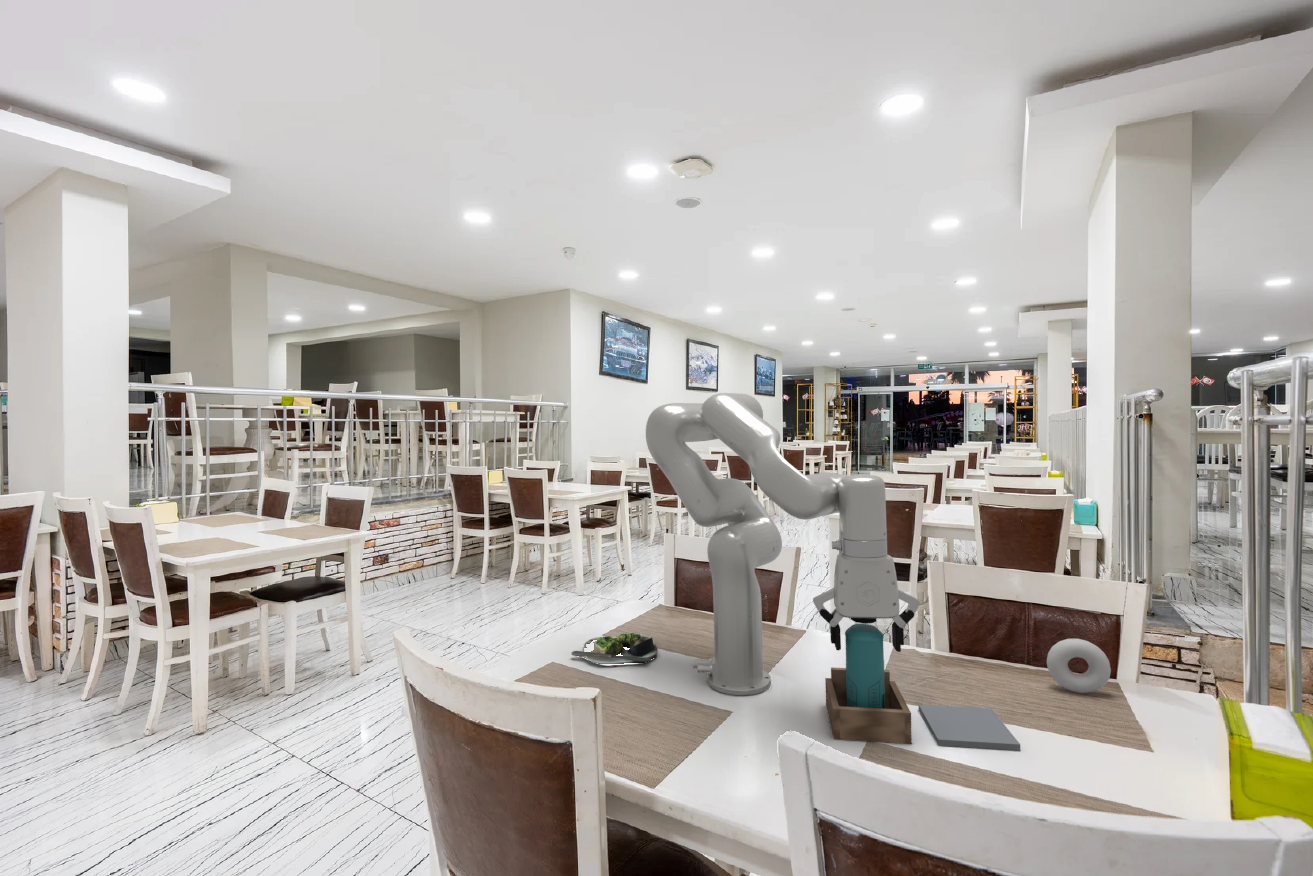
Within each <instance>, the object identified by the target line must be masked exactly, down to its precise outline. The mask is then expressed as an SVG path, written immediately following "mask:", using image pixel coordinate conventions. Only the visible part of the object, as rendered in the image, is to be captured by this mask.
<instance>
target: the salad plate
mask: <svg viewBox="0 0 1313 876" xmlns="http://www.w3.org/2000/svg"><path fill="white" fill-rule="evenodd" d="M613 636H614V635H613ZM613 636H612V635H608V636H597V637H593V638H590V639H588V640H586V641H585V642H584V643H583V645H584V647H583V648H587V647H586V644H590V643H591V642H592V641H593V640H597V641H595V642H593V643H594V650H593V651H591V652H584V651H583V650H582V651H581V650H573V651H571V656H573V657H577V656H579V657H578V658H581V657H584V658H586V659H588V660H589V661H591V662H594V663H598V664H624V663H644V664H646V663H645V662H647V663H649V662H648V661H650V660H651V659H653V658H655V659H656V657H657V656H658V654H659V650H658V647H657V645H656V643H655V641H654V639H653V637H651V636H650V635H648V634H644V633H636V632H635V633H634V632H626V633H621V634H619V635H615V636H616V637H617V638H613ZM623 647H627V648H630V649H629V650H625V649H624V648H623ZM620 653H621V655H623V656H616V655H618V654H620ZM653 660H654V659H653ZM589 661H588V662H589ZM591 662H590V663H591ZM650 662H651V661H650ZM594 663H593V664H594Z"/></svg>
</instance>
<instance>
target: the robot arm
mask: <svg viewBox="0 0 1313 876" xmlns="http://www.w3.org/2000/svg"><path fill="white" fill-rule="evenodd" d="M763 411H764V410H763V408H762V405H761V404H760V402H759V401H758V400H757V399H756V398H755V397H753V396H752V395H750V394H746V393H739V392H738V393H736V392H732V393H731V392H730V393H729V392H720V393H716V394H713V395H711V396H709V397H708V398H706V400H705V401H704V402H703V403H701V402H700V403H699V402H697V403H696V402H695V403H694V402H693V403H691V402H689V403H688V402H671V403H665V404H662V405H659V406H657V407H656V408H654V409H653V410H652V411H651V413H650V414H649V416H648V419H647V421H646V425H645V441H646V445H647V449H648V451H649V453H650V455H651V457H652V459H653V460H654V462H655V463H656V465H657V466H658V467H659V469H660V470H661V472H662V473H663V474H664V476H665V477H666V478H667V480H668V481H669V483H670V484H671V486H672V488H673V490H674V492H675V493H676V495H677V496H678V498H679V500H680V501H681V503H682V504H683V507H685V509H686V511H687V512H688V514H689V516H690V517H691V519H692V520H693V521H694V522H695V524H697V526H700V527H703V528H711V527H712V528H713V527H717V526H722V525H725V524H727V525H725V526H723V527H721V528H719V529H717V530H716V531H715V532H714V533H713V534H712V535H711V537H710V538H709V540H708V544H707V548H706V549H707V553H706V554H707V560H708V564H709V569H710V574H711V581H712V601H713V602H712V603H713V604H712V605H713V641H714V644H713V645H714V653H713V657H708V659H707V658H706V659H705V658H704V659H703V658H695V657H694V658H693V659H692V668H693V669H697V673H707V676H706V677H707V684H708V685H709V686H710V688H712V689H714V690H716V691H717V692H719V693H720V692H721V693H723V694H727V695H733V696H750V695H757V694H759V693H762V692H765V691H766V690H768V688H770V686H771V684H772V678H771V675H770V674H769V672H767V670H764V667H763V666H764V665H763V664H764V661H763V654H764V653H763V618H762V617H763V614H762V610H763V609H762V593H761V587H760V584H759V582H758V578H757V575H756V573H755V572H756V571H755V570H756V568H759V567H762V566H765V565H767V564H768V565H769V563H771V562H773V561H775V560H776V559H777V558H778V557H779V556H780V555H781V552H782V548H783V539H782V536H781V533H780V530H779V529H778V527H777V524H776V523H775V522H774V520H773V519H772V517H771V516H770V515H769V513H768V512H767V511H766V509H765V507H764V506H763V504H762V503H761V501H760V500H759V498H758V497H757V496H756V494H755V493H754V491H753V490H752V489H751V488H750V487H749V486H748V485H747V484H746V483H745V482H744V481H742V480H739V479H736V478H734V477H733V478H732V477H731V478H730V477H729V478H728V477H727V478H718V477H716V476H715V475H714V474H713V472H712V471H711V470H710V468H709V467H708V466H707V464H706V462H705V460H703V458H702V456H700V455H699V454H698V453H697V452H696V451H694V450H693V449H692V448H691V447H690V446H688V444H687V443H693V442H707V441H713V440H714V441H715V440H720V441H721V443H723V444H724V445H725V446H727V448H729V449H730V450H731V451H732V452H734V454H736V455H737V456H739V457H740V458H741V460H743V461H744V462H745V463H746V464H747V465H748V466H749V469H750V473H751V475H752V477H753V479H754V481H755V484H757V486H758V488H759V489H760V490H761V492H762V493H763V494H764V495H765V496H766V497H767V498H768V499H770V500H771V501H772V502H773V503H774V504H776V505H777V506H778V507H779V508H780V509H782V510H783V511H784V512H785V513H787V514H788V515H790V516H792V517H793V518H796V519H799V520H805V521H809V520H814V519H817V518H820V517H823V516H830V515H833V514H839V538H838V540H836V541H831V549H832V550H836V551H838V552H840V553H838V554H837V555H836V559H835V566H834V576H833V577H834V579H833V587H832V588H831V589H828V590H827V591H824V592H823V593H821V594H819V595H818V594H817V595H816V596H814V597H813V598H812V601H813V604H814V607H815V608H816V610H817V611H818V613H819V615H820V616H821V618H822V619H824V620H825V622H827V623H828V624H829V628H830V629H829V630H830V643H831V644H834V647H835V650H836V651H841V649H842V642H841V641H842V640H841V638H842V637H841V626H840V624H839V623H841V621H842V620H843V618H846V619H847V618H848V619H851V618H876V619H891V620H892V621H893V622H892V624H891V640H892V642H891V643H892V647H893V648H894V650H895V652H897V653H898V652H899V653H901V651H902V648H901V647H902V646H904V645H905V637H904V636H905V634H904V633H905V632H904V628H906V626H907V624H908V623H910V621H911V620H912V619H913V618H914V617H915V614H916V612H917V611H918V609H919V606H920V605H921V602H920V600H919V599H918V598H916V597H914V596H912V595H911V594H908V593H907V592H904V591H902V590H901V589H899V587H898V578H897V571H896V567H895V561H894V557H893V556H891V555H889V554H888V535H887V534H888V533H887V532H888V531H887V530H888V529H887V506H886V505H887V504H886V502H887V501H886V483H885V481H884V479H883V478H882V477H881V476H878V475H874V474H873V475H872V474H870V475H869V474H854V475H846V474H840V473H835V472H821V473H820V472H819V473H811V474H806V475H805V474H804V473H802V472H801V471H800V470H798V468H796V467H794V465H792V464H791V463H790V462H789V461H788V460H786V459H785V457H783V455H782V454H781V452H780V451H779V450H778V448H779V446H780V443H781V434H780V432H779V431H778V429H777V428H775V427H774V426H773V425H771V424H770V423H769V422H768V421H766V420H765V419H764V412H763ZM832 599H833V601H834V602H833V604H834V607H835V608H834V609H833V611H832V612H829V611H828V610H827V609H826V607H825V606H824V605H825V603H826V602H829V601H831V600H832ZM900 601H902V602H905V603H906V604H907V607H906V609H904V610H903V611H902V612H901V613H900Z"/></svg>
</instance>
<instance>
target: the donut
mask: <svg viewBox="0 0 1313 876" xmlns="http://www.w3.org/2000/svg"><path fill="white" fill-rule="evenodd" d="M1074 658H1080V659H1083V660H1085V661H1086V663H1087V665H1088V668H1087V669H1086V671H1085V672H1082V673H1075V672H1073V671H1072V670H1070V668H1069V665H1068V663H1069V662H1070V660H1072V659H1074ZM1046 665H1047V670H1048V672H1049V674H1050V675H1051V677H1052V679H1053V680H1054V681H1055V682H1056V683H1057V684H1059V686H1061V687H1063V688H1064V689H1066V690H1068V691H1070V692H1075V693H1077V694H1090V693H1093V692H1097V691H1099V690H1100V689H1102V688H1103V687H1105V686H1106V684H1107V683H1108V682H1109V680H1110V677H1111V672H1112V668H1111V663H1110V660H1109V659H1108V657H1107V655H1106V654H1105V652H1104V651H1102V649H1101V648H1100V647H1098V646H1097V645H1095V644H1094V643H1092V642H1090V641H1088V640H1085V639H1080V638H1067V639H1063V640H1060V641H1057V642H1056V643H1055V644H1054V645H1052V646H1051V648H1050V649H1049V651H1048V653H1047V657H1046Z"/></svg>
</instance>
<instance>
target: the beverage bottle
mask: <svg viewBox="0 0 1313 876" xmlns="http://www.w3.org/2000/svg"><path fill="white" fill-rule="evenodd" d="M850 620H851V621H853V622H854V624H851V625H850V626H849V627H848V628H847V629H846V630H845V631H844V635H845V668H846V670H845V671H846V673H845V674H846V687H847V699H846V701H847V703H846V705H847V706H846V707H861V708H879V709H885V708H886V707H885V705H886V702H885V697H886V694H885V690H886V689H885V687H886V686H885V685H886V681H885V680H886V679H885V676H884V675H885V674H884V673H885V672H884V670H885V659H884V658H885V657H884V656H885V655H884V633H883V632H882V631H881V630H880V629H879V628H878V627H876V626H874V625H872V624H875V623H876V622H877V618H850Z"/></svg>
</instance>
